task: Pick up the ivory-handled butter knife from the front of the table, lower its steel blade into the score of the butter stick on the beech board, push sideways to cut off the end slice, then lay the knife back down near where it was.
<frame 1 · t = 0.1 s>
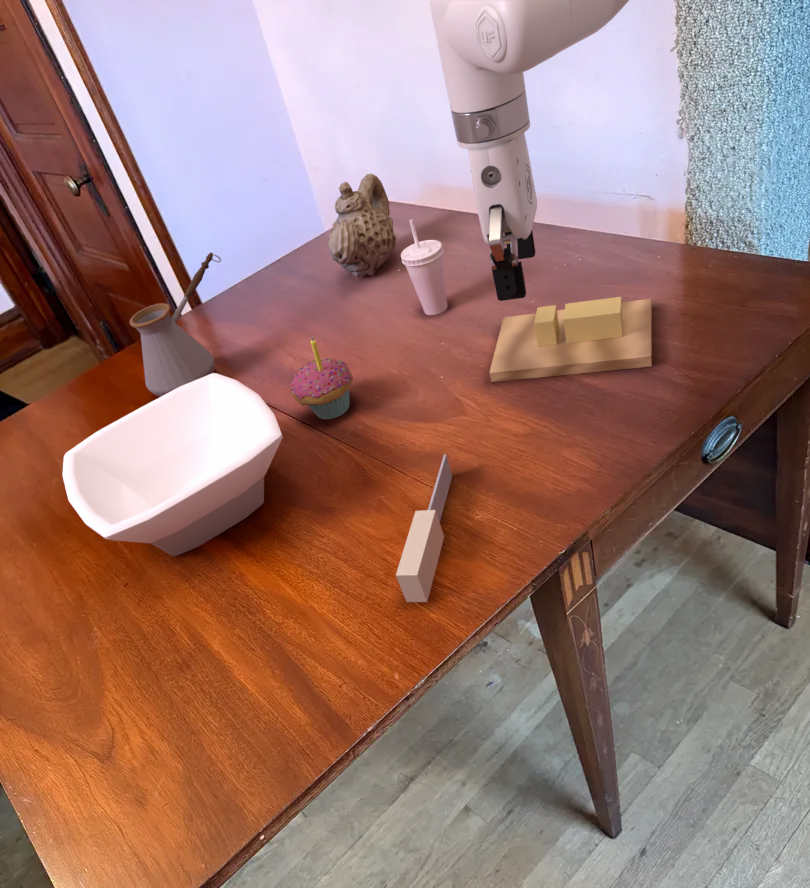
hand: (517, 277, 87), 14 cm above the table, tool pointing down, fingers open, 9 cm apart
bowl: (204, 508, 95), on the table
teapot: (371, 268, 135), on the table
coffee pot: (209, 370, 122), on the table
board: (572, 344, 99), on the table
smoothie: (436, 310, 117), on the table
butter: (594, 332, 97), point 1 cm above the table, touching board
butter slice: (548, 337, 99), point 1 cm above the table, touching board
knife: (425, 568, 77), on the table
cupcake: (332, 411, 103), on the table
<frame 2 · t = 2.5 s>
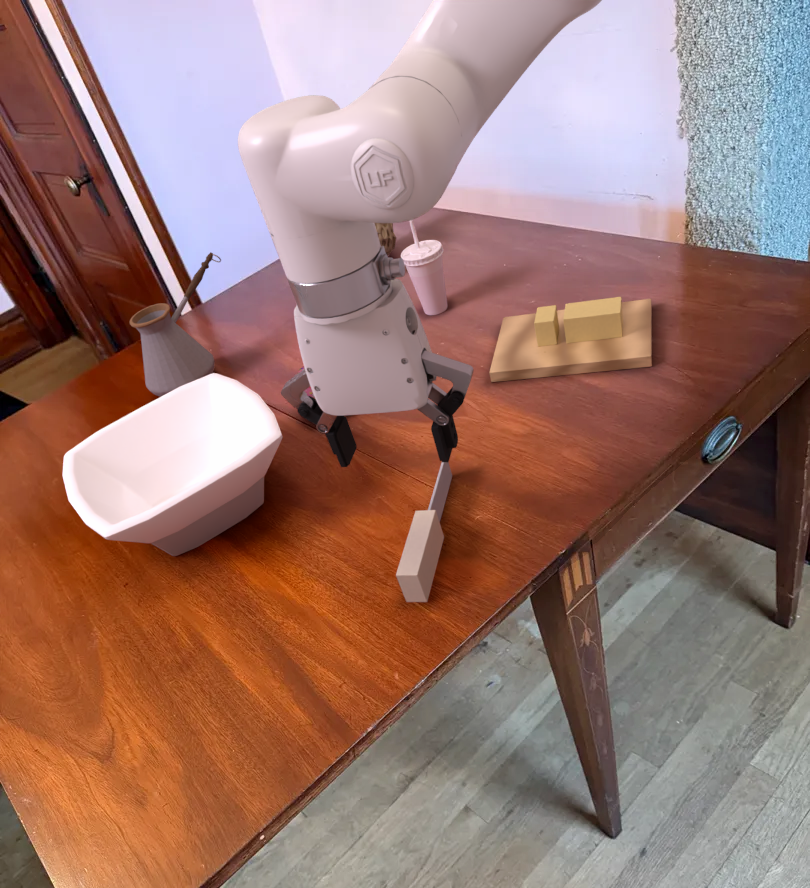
hand: (397, 455, 69), 13 cm above the table, tool pointing down, fingers open, 9 cm apart
nothing on the table moved.
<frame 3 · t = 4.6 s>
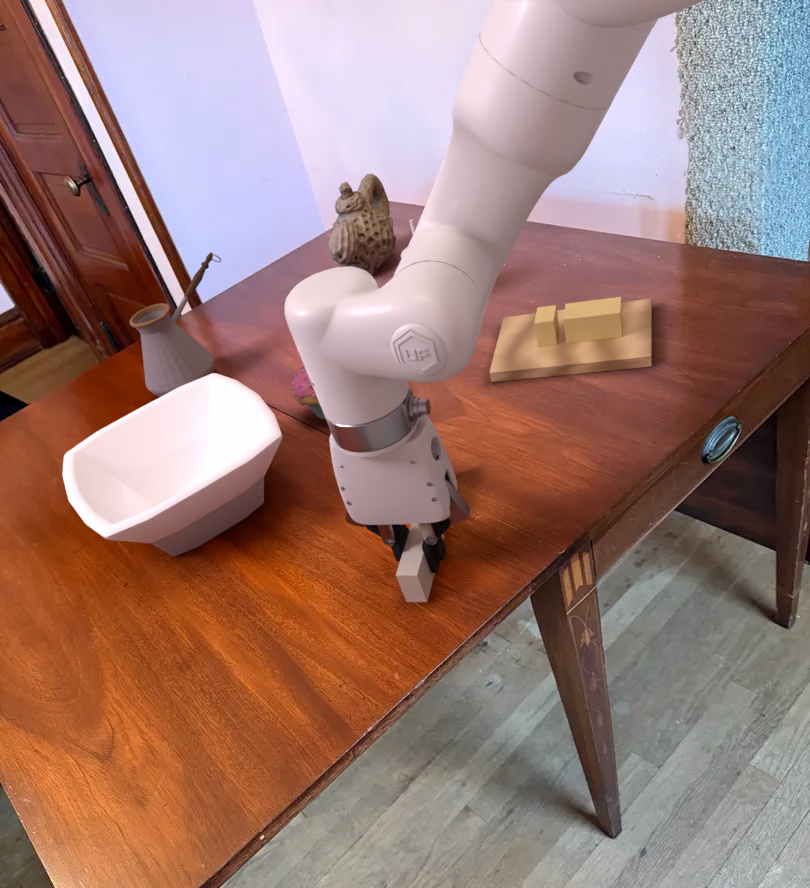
hand: (423, 562, 76), 1 cm above the table, tool pointing down, fingers closed on knife, 2 cm apart
knife: (425, 568, 77), on the table, touching gripper
everything else where it was.
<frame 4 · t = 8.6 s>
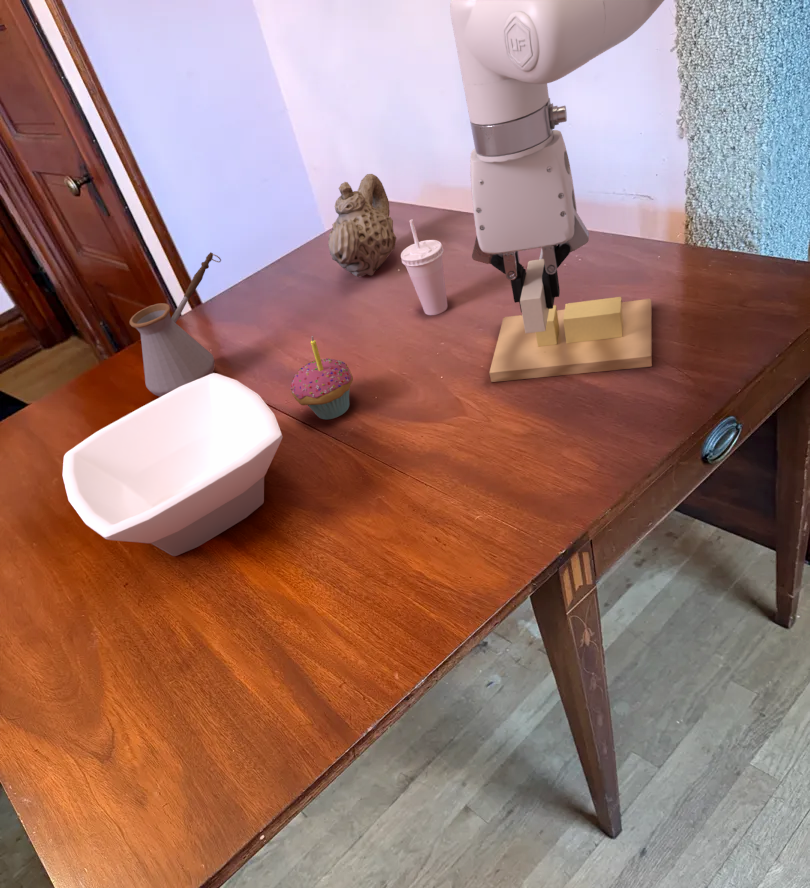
hand: (538, 303, 84), 12 cm above the table, tool pointing down, fingers closed on knife
knife: (539, 311, 85), point 11 cm above the table, touching gripper
everything else where it was.
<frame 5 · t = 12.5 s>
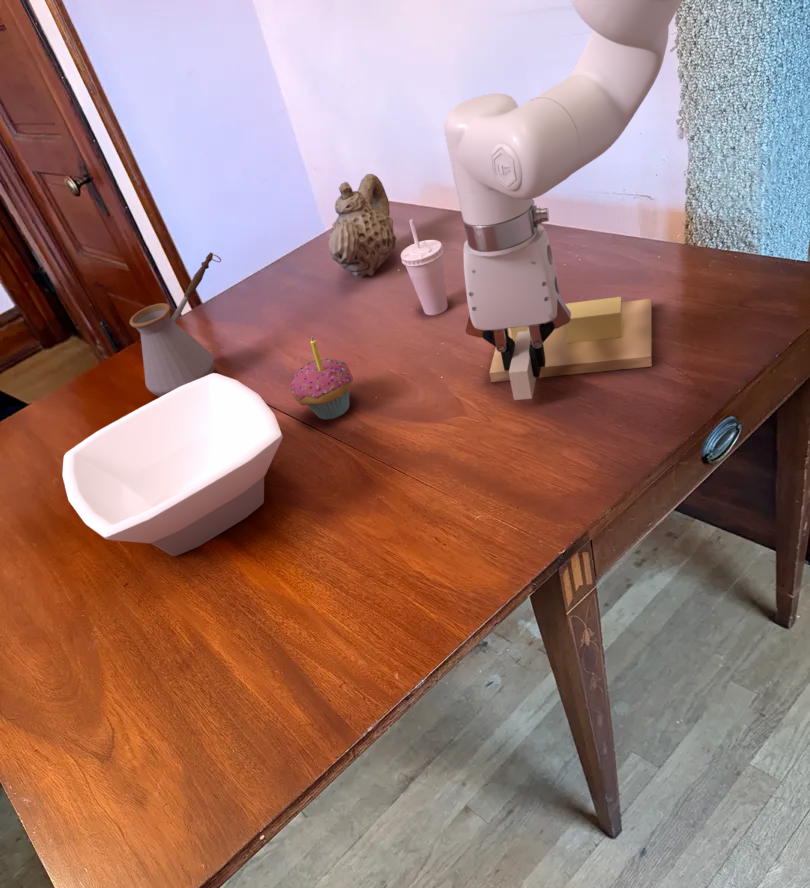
hand: (526, 371, 93), 3 cm above the table, tool pointing down, fingers closed on knife, 2 cm apart
butter slice: (525, 340, 100), point 2 cm above the table, touching board
knife: (527, 378, 93), point 2 cm above the table, touching gripper
everything else where it was.
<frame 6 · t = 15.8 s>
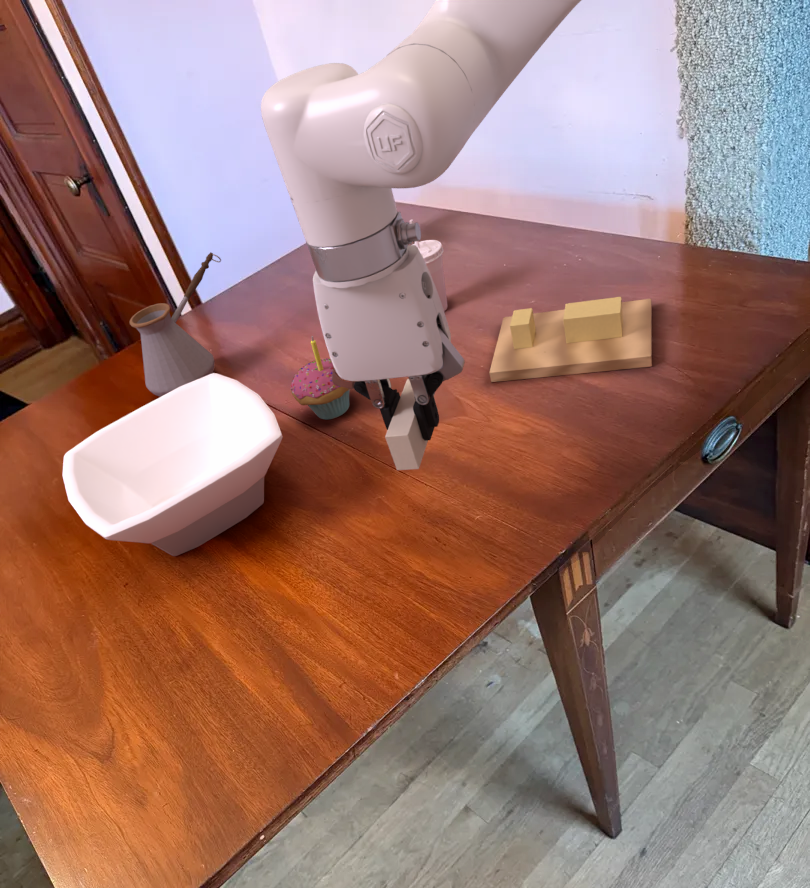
hand: (415, 431, 71), 13 cm above the table, tool pointing down, fingers closed on knife
knife: (418, 439, 72), point 12 cm above the table, touching gripper
everything else where it was.
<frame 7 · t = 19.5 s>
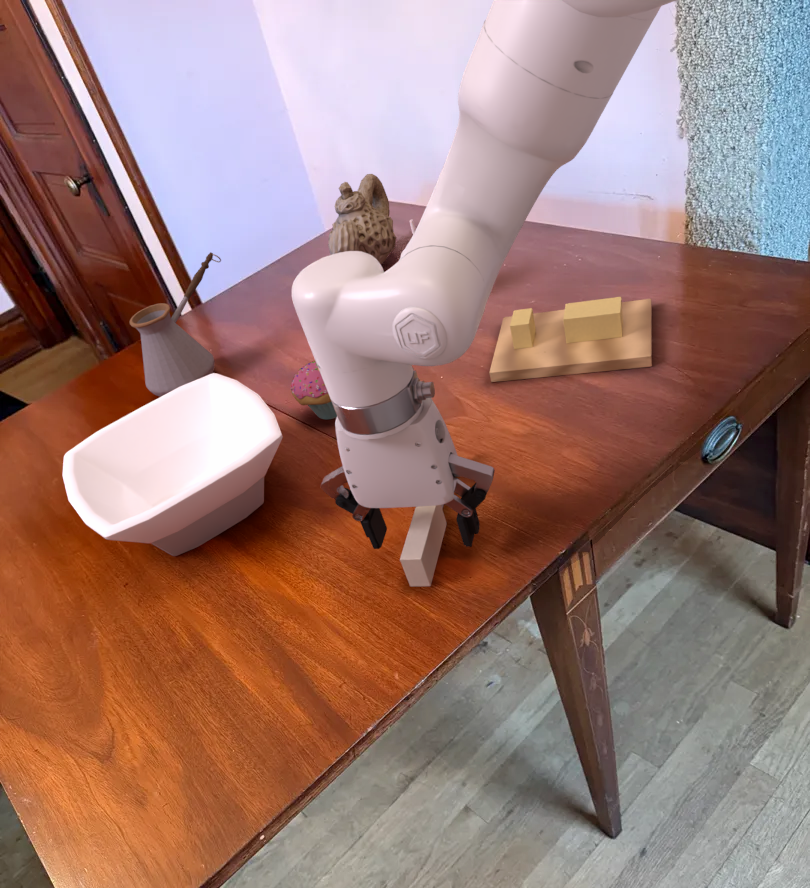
hand: (424, 538, 76), 2 cm above the table, tool pointing down, fingers open, 9 cm apart
knife: (429, 554, 78), on the table
everything else where it was.
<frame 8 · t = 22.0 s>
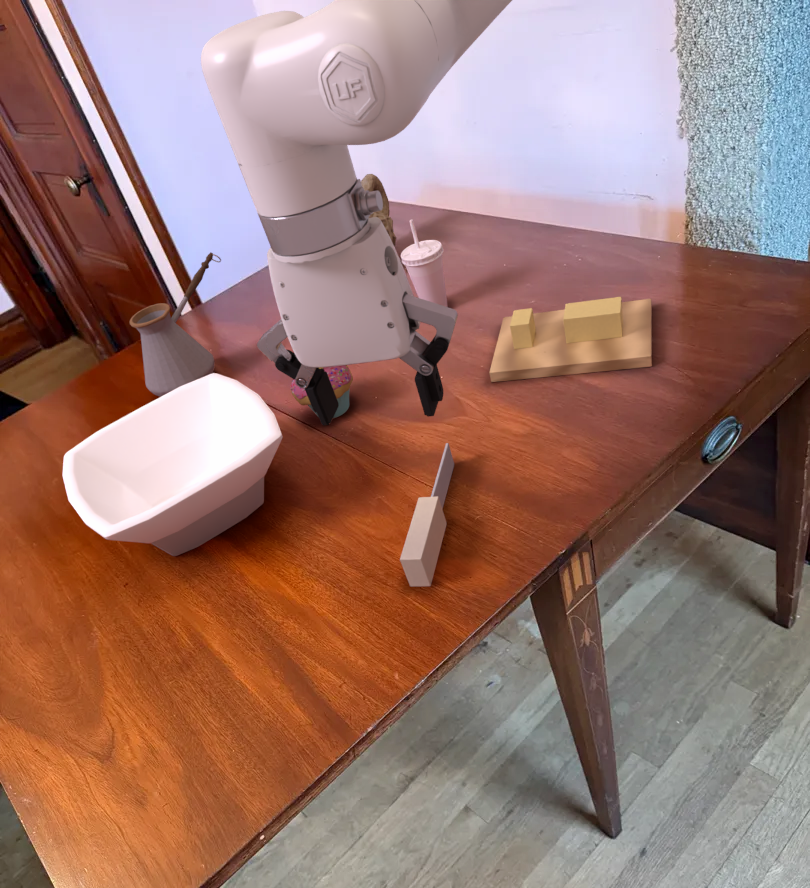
hand: (380, 411, 66), 18 cm above the table, tool pointing down, fingers open, 9 cm apart
nothing on the table moved.
at the end: butter slice moved 3.1 cm from its start; butter slice inside the target area on the board (5.8 cm from its centre), point 1.5 cm above the board's base; knife inside the target area (0.1 cm from its centre), on the table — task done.
